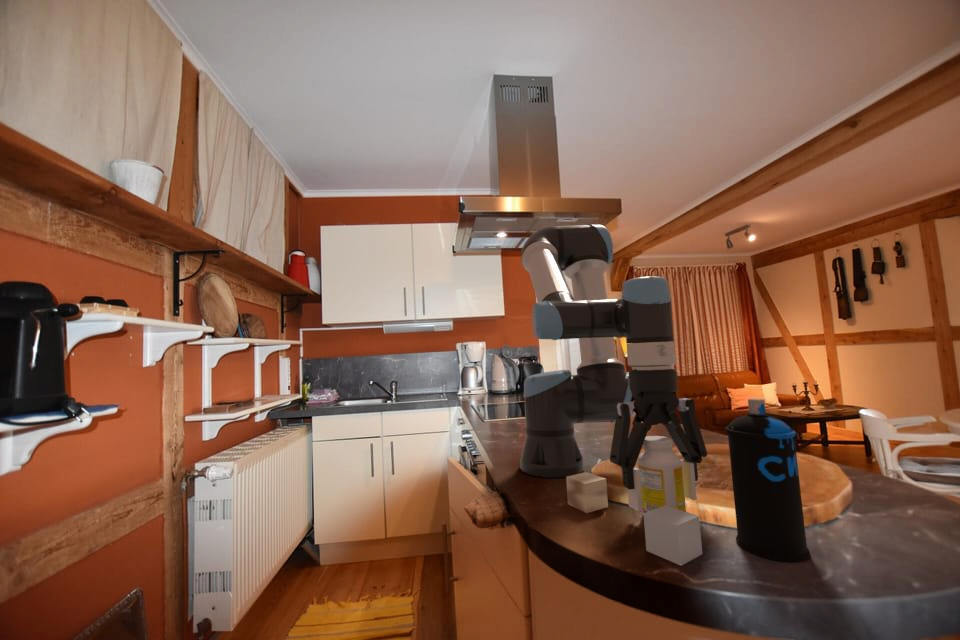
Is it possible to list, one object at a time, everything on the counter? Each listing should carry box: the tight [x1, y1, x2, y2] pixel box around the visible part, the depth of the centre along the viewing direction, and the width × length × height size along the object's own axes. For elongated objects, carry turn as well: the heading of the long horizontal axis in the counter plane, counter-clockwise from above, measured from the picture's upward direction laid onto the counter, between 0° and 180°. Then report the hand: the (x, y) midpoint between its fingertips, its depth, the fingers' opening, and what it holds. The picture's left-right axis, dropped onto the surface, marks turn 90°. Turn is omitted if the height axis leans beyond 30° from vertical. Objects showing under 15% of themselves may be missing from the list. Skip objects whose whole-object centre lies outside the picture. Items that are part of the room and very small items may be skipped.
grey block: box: [643, 505, 703, 566], centre depth 54 cm, size 5×5×5 cm
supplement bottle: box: [637, 435, 687, 517], centre depth 66 cm, size 7×7×13 cm
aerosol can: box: [724, 398, 811, 563], centre depth 55 cm, size 8×8×20 cm
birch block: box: [565, 471, 609, 514], centre depth 72 cm, size 5×5×5 cm
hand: (662, 505), depth 65 cm, fingers open, 9 cm apart
